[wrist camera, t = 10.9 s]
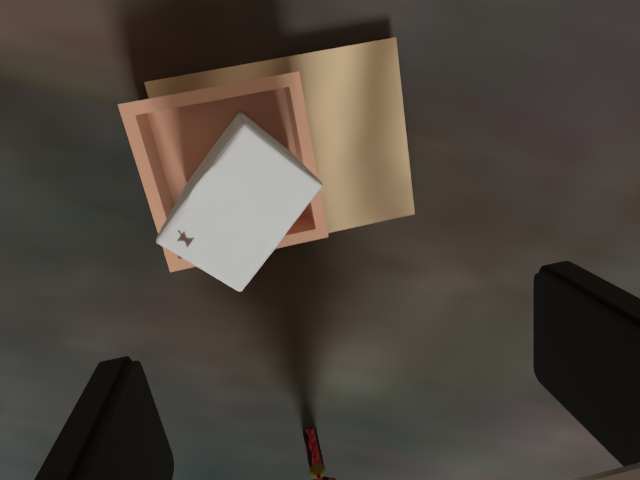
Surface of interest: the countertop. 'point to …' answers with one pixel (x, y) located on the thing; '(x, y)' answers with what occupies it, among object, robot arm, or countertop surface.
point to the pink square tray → (202, 133)
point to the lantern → (314, 455)
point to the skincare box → (238, 204)
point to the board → (340, 125)
